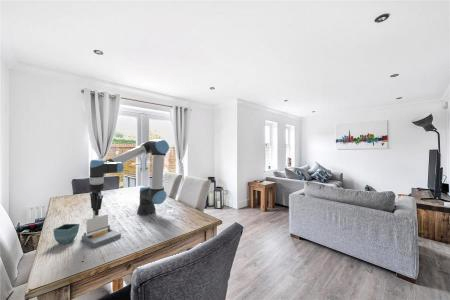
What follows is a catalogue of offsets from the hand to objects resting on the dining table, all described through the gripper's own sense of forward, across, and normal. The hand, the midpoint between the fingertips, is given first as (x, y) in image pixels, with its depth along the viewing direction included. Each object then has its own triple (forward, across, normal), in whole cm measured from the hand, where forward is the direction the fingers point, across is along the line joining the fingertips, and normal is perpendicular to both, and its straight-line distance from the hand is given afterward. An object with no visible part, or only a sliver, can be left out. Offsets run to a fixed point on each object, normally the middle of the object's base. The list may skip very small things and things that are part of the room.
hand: (95, 219), depth 118 cm
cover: (+2, +3, 0) cm, 4 cm away
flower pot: (+10, -4, -13) cm, 17 cm away
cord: (+8, +4, 0) cm, 9 cm away
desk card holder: (+10, +8, 0) cm, 13 cm away
